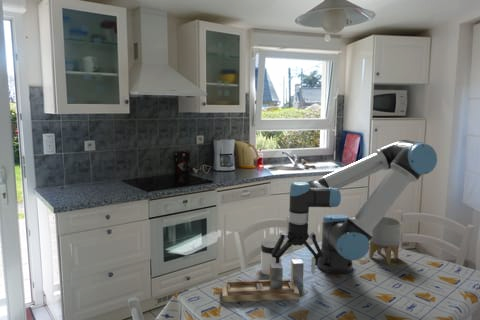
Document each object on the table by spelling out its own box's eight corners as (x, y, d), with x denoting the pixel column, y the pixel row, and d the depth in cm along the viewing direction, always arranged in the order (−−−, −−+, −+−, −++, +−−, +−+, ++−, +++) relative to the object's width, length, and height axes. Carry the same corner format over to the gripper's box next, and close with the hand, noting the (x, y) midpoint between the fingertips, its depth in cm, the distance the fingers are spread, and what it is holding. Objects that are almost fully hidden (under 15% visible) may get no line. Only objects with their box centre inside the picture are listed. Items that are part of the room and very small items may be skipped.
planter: (403, 263, 165) (405, 225, 163) (374, 263, 165) (376, 225, 163) (391, 252, 178) (394, 216, 175) (365, 251, 178) (366, 216, 176)
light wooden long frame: (294, 288, 142) (295, 260, 140) (299, 299, 134) (300, 269, 132) (222, 291, 140) (221, 262, 138) (222, 302, 132) (222, 271, 130)
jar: (268, 277, 151) (268, 249, 149) (256, 270, 158) (256, 243, 156) (284, 272, 156) (285, 245, 154) (272, 265, 163) (273, 239, 161)
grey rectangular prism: (292, 285, 145) (293, 263, 143) (290, 280, 149) (291, 259, 147) (302, 284, 145) (303, 263, 144) (300, 280, 149) (301, 259, 148)
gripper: (326, 218, 148) (324, 268, 151) (265, 218, 146) (263, 269, 149) (332, 224, 140) (329, 277, 143) (268, 224, 138) (266, 277, 142)
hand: (296, 273), depth 146 cm, fingers open, 13 cm apart
